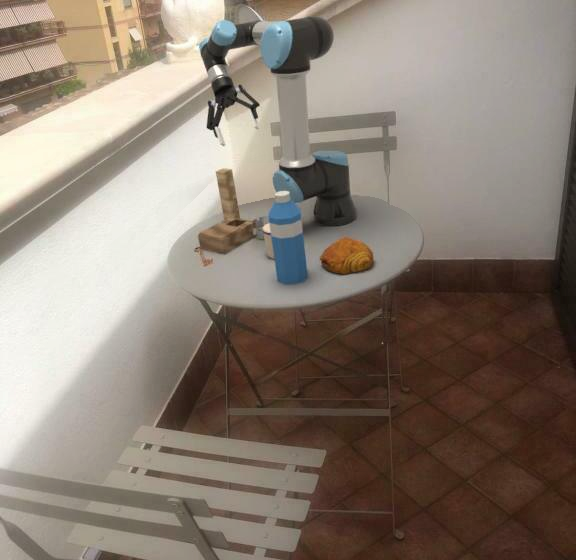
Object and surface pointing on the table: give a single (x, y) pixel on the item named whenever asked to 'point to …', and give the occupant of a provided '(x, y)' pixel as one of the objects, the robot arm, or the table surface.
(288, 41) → the robot arm
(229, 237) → the wooden sliding lid box
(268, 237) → the teacup with lid
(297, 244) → the water bottle
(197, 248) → the key
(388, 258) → the table surface
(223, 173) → the wooden key peg
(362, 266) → the croissant
